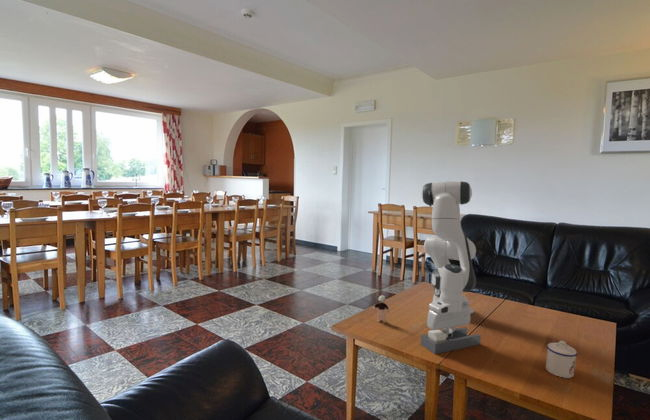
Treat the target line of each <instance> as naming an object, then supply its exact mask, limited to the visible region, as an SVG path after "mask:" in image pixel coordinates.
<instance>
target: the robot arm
mask: <svg viewBox="0 0 650 420" xmlns="http://www.w3.org/2000/svg"><path fill="white" fill-rule="evenodd" d="M472 190H473V189H472V187H471V185H470V184H469V182H467V181H462V180H461V181H439V182H428V183H425V184H424V185H423V188H422V190H421V199H422V201H423V203H424V204H425V205H428V206H429V207H430V208H431V207H432V209H431V230H432V231H433V233H434V235H430V236H427V238H426V239H425V241H424V242H423V243H424V244H423V249H424V251H425V253H426V254H427V255H428V256H429V257H430V258H431V260H432V262H433V264H434V269H433V270H432V272H431V275H430V284H431V286H432V287H433V291H434V292H433V297H432V302H430V303H429V304H428V308H429V311H428V313H427V319H426V325H427V327H428V329H430V330H442V331H444V333H445V334H446V338H447V337H452V336H453V332H454V330H455V329H456V328H457V327H460V326H462V327H463V326H468V325H469V324H470V323H471V314H474V313H475V311H474V309H473V308H471V305H470V302H469V299H468V297H466V296H464V295H463V293H470V292H471V291H472V290H474V289H475V288H476V285H477V278H476V273H475V271H474V267H473V262H472V260H473V258H475V256H476V254H477V247H476V245H475V244H474V242H473V241H471V239H469V238H468V237H467V234H466V232H464V231H463V228H462V224H461V209H460V208H461V207H460V206H461V205H466V204H469V202H470V201H471V199H472V196H473V191H472ZM450 260H454V261H459V265H457V264H454V263H453V264H452V263H451V262H450ZM447 330H449V331H447Z"/></svg>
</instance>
